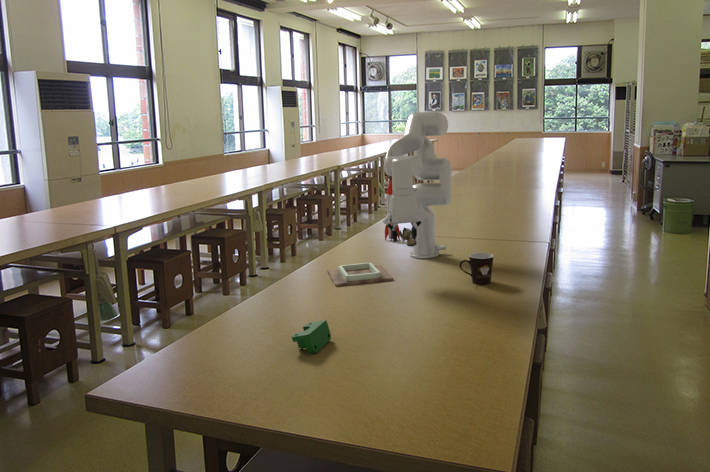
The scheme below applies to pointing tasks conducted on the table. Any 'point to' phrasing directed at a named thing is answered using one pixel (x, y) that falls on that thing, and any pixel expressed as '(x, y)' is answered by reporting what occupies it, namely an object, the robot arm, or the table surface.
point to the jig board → (359, 274)
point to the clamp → (313, 336)
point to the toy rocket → (387, 229)
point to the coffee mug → (480, 267)
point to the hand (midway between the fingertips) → (404, 239)
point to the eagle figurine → (407, 237)
